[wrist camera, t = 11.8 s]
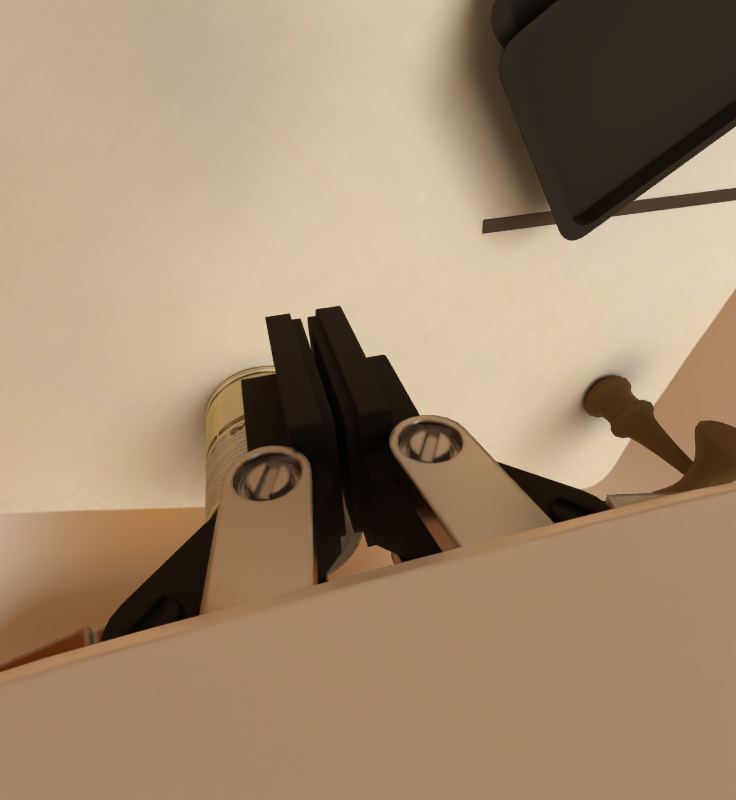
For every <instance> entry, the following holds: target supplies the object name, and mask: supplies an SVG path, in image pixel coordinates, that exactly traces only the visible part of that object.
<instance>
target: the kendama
mask: <svg viewBox="0 0 736 800" xmlns="http://www.w3.org/2000/svg"><path fill="white" fill-rule="evenodd" d="M585 410H586V412H587V413H588V414H589V415H591V416H594V417H604V418H605V419H606V420H607V421H608V422H610V424H611V431H612V433H613V434H614V435H615V436H616V437H620V438H627V437H629V438H631V439H633V440H635V441H637V442H638V443H640V444H642V445H643V446H645V447H646V448H648V449H649V450H651V451H652V452H654V453H655V454H656V455H658V456H659V457H661V458H662V459H663V460H665V461H666V462H668V463H669V464H670V465H672V466H673V467H674V468H676V469H677V470H678V471H680V472H681V473H682V474H683V475H684V476H683V477H682V479H681V480H680V481H678V482H677V483H675V484H674V485H671V486H669V487H667V488H664V489H661V490H657V491H654V492H652V493H667V492H688V491H692V490H697V489H702V488H707V487H713V486H718V485H723V484H729V483H732V482H733V481H736V428H735V427H732V426H730V425H727V424H724V423H721V422H716V421H700V422H699V423H698V425H697V426H696V428H695V447H696V448H695V449H696V451H695V459H694V462H693V461H691V459H690V458H689V457H688V456H687V455H686V454H685V453H684V452H683V451H682V450H681V449H680V448H679V447H678V446H677V445H676V443H675V442H674V441H673V440H672V439H671V438H670V437H669V436H668V435H667V434H666V432H665V431H664V430H663V428H662V427H661V426H660V425H659V423H658V422H657V421H656V419H655V418H654V415H653V411H654V407H653V405H652V403H651V402H648V401H645V400H638V399H637V398H636V397H635V396H634V395H633V394H632V393H631V385H630V383H629V382H628V380H627V379H626V378H623V377H620V376H612V377H608V378H606V379H604V380H601V381H600V382H599V383H597V384H596V385H595V386H594V387H593V388H592V390H591V391H590V392H589V393H588V396H587V398H586V401H585Z"/></svg>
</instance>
